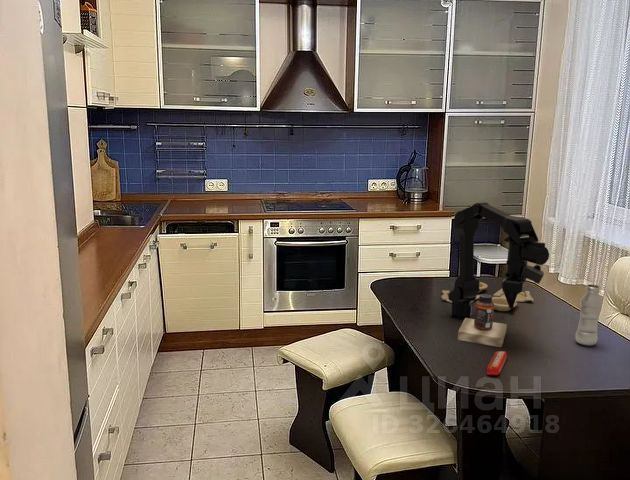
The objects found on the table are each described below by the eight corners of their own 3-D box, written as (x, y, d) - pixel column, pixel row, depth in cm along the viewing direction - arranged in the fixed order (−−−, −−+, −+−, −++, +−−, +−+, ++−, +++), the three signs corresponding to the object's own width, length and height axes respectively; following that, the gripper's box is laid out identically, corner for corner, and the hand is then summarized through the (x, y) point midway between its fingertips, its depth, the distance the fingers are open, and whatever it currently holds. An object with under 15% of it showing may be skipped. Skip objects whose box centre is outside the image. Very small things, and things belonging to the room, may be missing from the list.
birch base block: (457, 339, 190) (458, 331, 189) (464, 325, 202) (465, 317, 202) (501, 347, 184) (502, 338, 184) (505, 332, 197) (506, 324, 196)
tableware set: (538, 297, 236) (539, 288, 235) (523, 318, 212) (524, 308, 211) (455, 283, 254) (456, 274, 253) (432, 301, 229) (433, 291, 228)
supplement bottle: (492, 331, 189) (495, 299, 187) (474, 329, 191) (477, 297, 188) (491, 325, 195) (494, 293, 193) (473, 323, 196) (475, 292, 194)
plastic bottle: (570, 340, 191) (577, 283, 186) (589, 340, 191) (597, 283, 187) (580, 348, 185) (588, 289, 180) (600, 347, 185) (609, 289, 181)
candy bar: (495, 356, 178) (496, 347, 178) (507, 358, 177) (508, 349, 176) (484, 376, 164) (485, 367, 164) (498, 379, 163) (498, 370, 162)
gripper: (542, 267, 172) (537, 316, 175) (545, 254, 189) (540, 299, 192) (503, 263, 176) (499, 311, 180) (509, 250, 193) (505, 294, 196)
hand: (512, 303), depth 187 cm, fingers open, 9 cm apart
